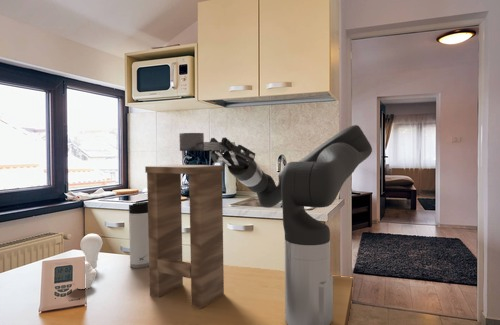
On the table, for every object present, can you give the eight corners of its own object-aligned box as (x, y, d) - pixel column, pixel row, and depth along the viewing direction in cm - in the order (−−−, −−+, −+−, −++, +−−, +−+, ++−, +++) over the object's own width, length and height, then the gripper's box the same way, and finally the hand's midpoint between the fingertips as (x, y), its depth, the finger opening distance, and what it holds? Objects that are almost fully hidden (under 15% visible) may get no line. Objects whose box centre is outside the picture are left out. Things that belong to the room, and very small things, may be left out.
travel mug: (146, 268, 105) (144, 203, 105) (126, 267, 107) (124, 202, 106) (155, 262, 112) (154, 200, 111) (136, 261, 113) (135, 199, 112)
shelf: (224, 293, 87) (223, 165, 86) (200, 309, 78) (198, 167, 77) (175, 282, 95) (173, 164, 93) (148, 295, 86) (145, 166, 85)
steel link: (239, 149, 95) (238, 134, 95) (194, 150, 78) (193, 132, 77) (222, 149, 98) (221, 135, 98) (174, 150, 80) (174, 133, 80)
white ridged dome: (99, 282, 95) (99, 257, 95) (92, 291, 89) (91, 264, 89) (76, 283, 94) (75, 258, 94) (66, 293, 88) (66, 265, 88)
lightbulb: (107, 268, 106) (106, 232, 106) (89, 274, 101) (87, 237, 101) (95, 265, 109) (94, 230, 109) (76, 271, 104) (75, 234, 104)
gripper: (229, 158, 109) (199, 129, 95) (269, 158, 102) (243, 127, 89) (222, 180, 106) (191, 153, 92) (264, 182, 99) (236, 152, 86)
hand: (217, 140), depth 91 cm, fingers closed on steel link, 3 cm apart
